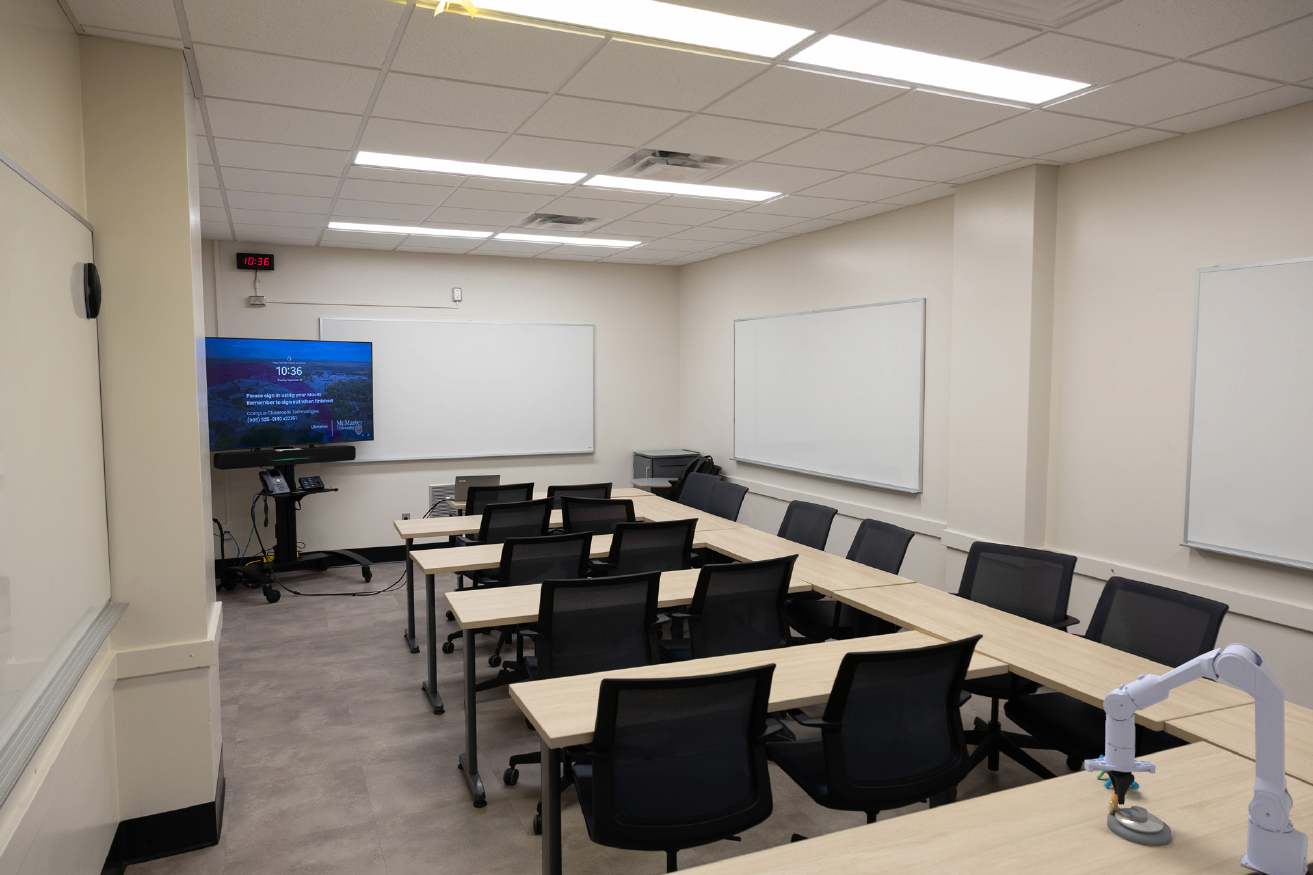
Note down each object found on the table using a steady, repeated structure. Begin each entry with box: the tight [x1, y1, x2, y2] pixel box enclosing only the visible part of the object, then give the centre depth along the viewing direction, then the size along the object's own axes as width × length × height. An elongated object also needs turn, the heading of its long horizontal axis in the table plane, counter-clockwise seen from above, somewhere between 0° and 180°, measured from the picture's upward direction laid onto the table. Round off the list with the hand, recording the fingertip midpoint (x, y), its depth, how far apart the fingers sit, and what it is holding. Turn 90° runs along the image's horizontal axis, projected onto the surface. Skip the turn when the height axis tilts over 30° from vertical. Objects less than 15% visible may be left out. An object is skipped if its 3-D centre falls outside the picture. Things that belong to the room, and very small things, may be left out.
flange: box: [1107, 793, 1164, 833], centre depth 172 cm, size 11×9×4 cm
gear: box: [1096, 754, 1140, 790], centre depth 191 cm, size 11×6×10 cm
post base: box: [1106, 799, 1172, 847], centre depth 171 cm, size 12×12×4 cm
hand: (1119, 802), depth 176 cm, fingers closed
